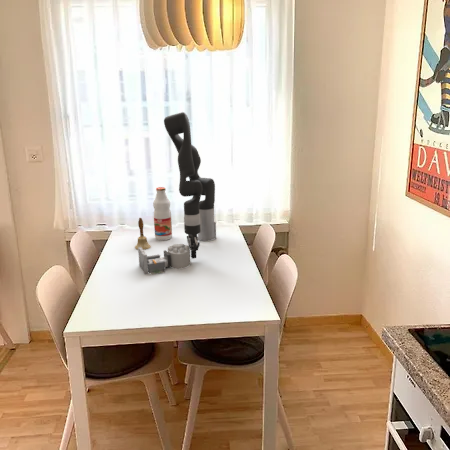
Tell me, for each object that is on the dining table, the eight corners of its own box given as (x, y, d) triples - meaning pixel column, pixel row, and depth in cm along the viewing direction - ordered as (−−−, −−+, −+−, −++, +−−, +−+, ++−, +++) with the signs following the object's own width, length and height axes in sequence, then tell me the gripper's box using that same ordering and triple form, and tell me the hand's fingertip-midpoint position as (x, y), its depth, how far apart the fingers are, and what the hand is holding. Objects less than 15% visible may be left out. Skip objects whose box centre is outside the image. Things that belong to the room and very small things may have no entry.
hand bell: (149, 250, 253) (147, 220, 249) (133, 250, 254) (130, 220, 249) (152, 244, 261) (150, 215, 257) (136, 244, 261) (134, 215, 257)
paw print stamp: (189, 258, 240) (189, 241, 238) (191, 268, 228) (190, 250, 225) (168, 259, 239) (167, 242, 237) (168, 269, 227) (167, 251, 224)
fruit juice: (175, 236, 275) (172, 186, 267) (167, 241, 266) (164, 190, 258) (160, 234, 278) (156, 185, 270) (152, 239, 269) (148, 189, 261)
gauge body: (159, 262, 236) (158, 244, 233) (166, 272, 224) (165, 253, 221) (139, 265, 233) (138, 247, 230) (145, 275, 221) (144, 256, 218)
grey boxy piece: (166, 262, 234) (166, 250, 233) (173, 270, 225) (172, 257, 223) (147, 265, 231) (146, 253, 229) (153, 273, 221) (152, 260, 220)
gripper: (204, 225, 226) (205, 261, 231) (195, 218, 237) (197, 252, 242) (188, 227, 223) (190, 263, 228) (180, 220, 235) (182, 254, 240)
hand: (193, 257), depth 235 cm, fingers closed
